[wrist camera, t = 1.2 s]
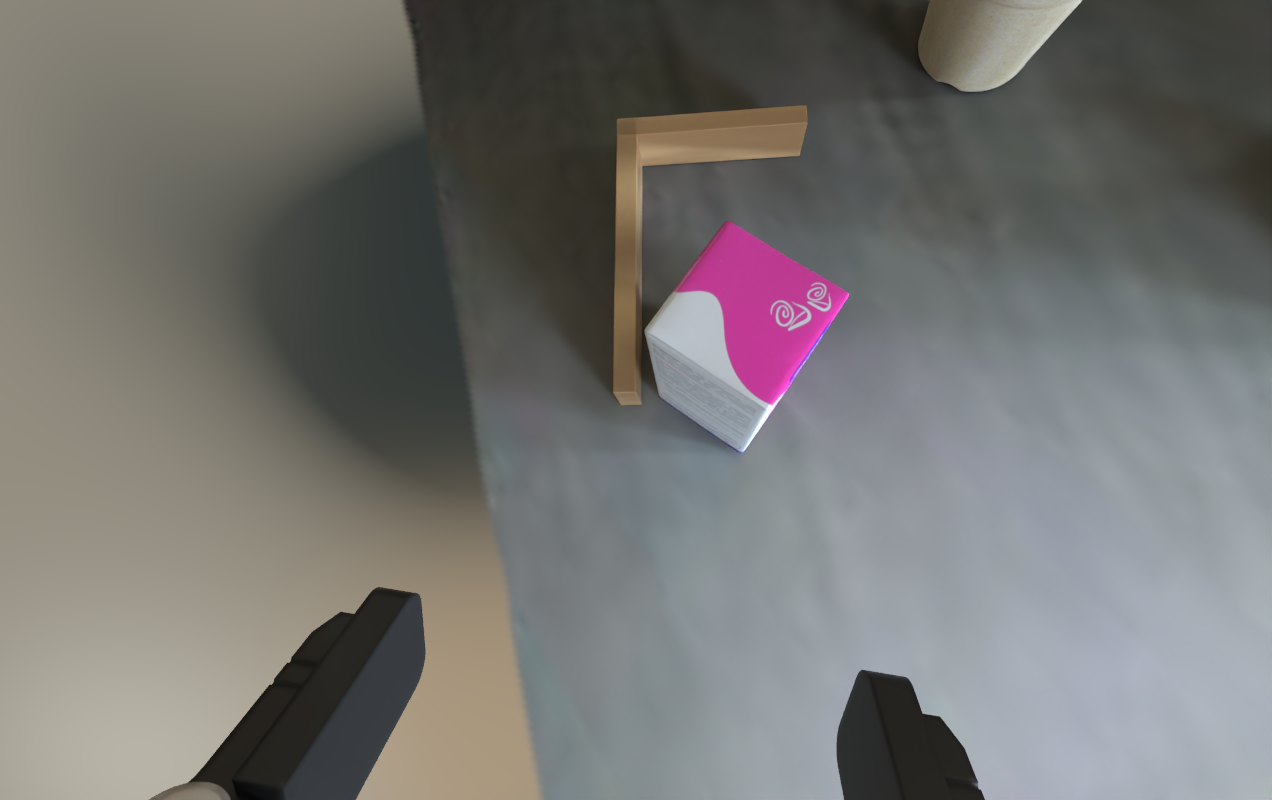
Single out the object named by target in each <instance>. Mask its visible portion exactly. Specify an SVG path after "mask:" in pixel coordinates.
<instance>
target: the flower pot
mask: <svg viewBox="0 0 1272 800" xmlns="http://www.w3.org/2000/svg"><path fill="white" fill-rule="evenodd" d="M1081 1H1082V0H930V2H929V5H928V9H927V13H926V17H925V20H924V24H923V27H922V31H921V34H920V38H919V43H918V53H919V58H920V61H921V63H922V65H923V67H924V69H925V70H926V71H927V73H928V74H929V75H930V76H931V77H932V78H933V79H934V80H936V81H938V82H945V83H948V84H950V85H952V86H954V87H956V88H957V89H958V90H960V91H966V92H979V91H986V90H990V89H993V88H996V87H998V86H1000V85H1002V84H1004V83H1006V82H1008V81H1009V80H1010V79H1012V78H1013V77H1014V76H1015V75H1016V74H1017V73H1018V72H1019V71H1020V70H1021V69H1022V68H1023V66H1024V65H1025V64H1026V62H1027V61H1028V60H1029V59H1030V58H1031V57H1032V56H1033V54H1034V53H1035V52H1036V51H1037V50H1038V49H1039V48H1040V47H1041V46H1042V44H1043V43H1044V42H1045V41H1046V40H1047V39H1048V38H1049V37H1050V35H1051V34H1052V33H1053V32H1054V31H1055V30H1056V29H1057V28H1058V27H1059V25H1060V24H1061V23H1062V22H1063V21H1064V20H1065V19H1066V18H1067V17H1068V16H1069V15H1070V13H1071V12H1072V11H1073V10H1074V9H1075V8H1076V7H1077V6H1078V5H1079V4H1080V2H1081Z"/></svg>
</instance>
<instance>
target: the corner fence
mask: <svg viewBox="0 0 1272 800" xmlns="http://www.w3.org/2000/svg"><path fill="white" fill-rule="evenodd" d="M807 123H808V121H807V106H806V105H798V106H785V107H771V108H758V109H745V110H731V111H718V112H704V113H691V114H678V115H664V116H651V117H637V118H623V119H617V152H616V217H615V282H614V347H613V393H614V395H615V396H616V398H617V400H618V401H619V403H620V404H621V405H641V395H642V166H651V165H667V164H682V163H697V162H713V161H728V160H743V159H759V158H774V157H790V156H799V155H800V152H801V148H802V143H803V139H804V135H805V131H806V127H807Z"/></svg>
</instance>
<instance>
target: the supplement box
mask: <svg viewBox="0 0 1272 800" xmlns="http://www.w3.org/2000/svg"><path fill="white" fill-rule="evenodd" d="M848 296H849V293H848V292H846V291H845V290H843V289H841V288H840V287H838V286H837V285H835V284H833V283H832V282H830V281H828V280H826V279H825V278H823V277H821V276H820V275H818V274H816V273H814V272H812V271H811V270H809V269H807V268H805V267H803V266H802V265H800V264H798V263H797V262H795V261H793V260H792V259H790V258H788V257H787V256H785V255H783V254H782V253H780V252H779V251H777V250H775V249H774V248H772V247H771V246H769V245H767V244H766V243H764V242H762V241H761V240H759V239H758V238H756V237H754V236H753V235H751V234H749V233H748V232H746V231H745V230H743V229H741V228H740V227H738V226H737V225H735V224H733V223H732V222H730V221H726V222H725V223H724V224H723V225H722V227H721V228H720V229H719V230H718V232H717V233H716V234H715V236H714V237H713V238H712V239H711V241H710V242H709V243H708V245H707V246H706V247H705V249H704V250H703V251H702V253H701V254H700V255H699V257H698V258H697V259H696V260H695V262H694V263H693V264H692V266H691V267H690V269H689V270H688V271H687V273H686V274H685V275H684V277H683V278H682V279H681V281H680V282H679V283H678V285H677V286H676V287H675V289H674V290H673V292H672V293H671V294H670V296H669V297H668V298H667V300H666V301H665V302H664V304H663V305H662V306H661V308H660V309H659V311H658V312H657V313H656V315H655V316H654V317H653V319H652V320H651V321H650V323H649V324H648V325H647V327H646V329H645V336H646V340H647V345H648V349H649V353H650V358H651V362H652V366H653V370H654V375H655V380H656V384H657V388H658V393H659V397H660V398H661V399H663V400H664V401H665V402H667V403H668V404H670V405H671V406H673V407H674V408H675V409H677V410H678V411H680V412H681V413H683V414H684V415H685V416H687V417H688V418H690V419H691V420H693V421H694V422H695V423H697V424H698V425H700V426H701V427H703V428H704V429H705V430H707V431H708V432H710V433H711V434H713V435H714V436H716V437H717V438H718V439H720V440H721V441H723V442H724V443H726V444H727V445H728V446H730V447H731V448H733V449H734V450H736V451H737V452H739V453H743V452H744V450H745V449H746V448H747V446H748V445H749V443H750V442H751V440H752V439H753V438H754V436H755V435H756V433H757V432H758V431H759V429H760V428H761V426H762V425H763V423H764V422H765V421H766V419H767V418H768V416H769V415H770V414H771V412H772V411H773V409H774V408H775V406H776V405H777V403H778V402H779V401H780V399H781V398H782V396H783V395H784V393H785V392H786V390H787V389H788V387H789V386H790V384H791V383H792V381H793V380H794V378H795V377H796V375H797V374H798V373H799V371H800V369H801V368H802V366H803V365H804V363H805V362H806V361H807V359H808V358H809V356H810V354H811V353H812V351H813V350H814V349H815V347H816V346H817V344H818V343H819V341H820V339H821V338H822V336H823V335H824V333H825V332H826V330H827V329H828V327H829V326H830V324H831V322H832V321H833V319H834V318H835V316H836V315H837V313H838V312H839V310H840V309H841V307H842V306H843V304H844V303H845V301H846V299H847V298H848Z"/></svg>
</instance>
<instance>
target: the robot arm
mask: <svg viewBox="0 0 1272 800" xmlns="http://www.w3.org/2000/svg"><path fill="white" fill-rule="evenodd" d="M421 605H422V604H421V598H420V596H419V595H418V594H417V593H411V592H405V591H399V590H393V589H387V588H382V587H381V588H380V587H378V588H376V589H374V590H373V591H372V592H371V593H370V594H369V595H368V597H367V598H366V599H365V601H364V602H363V604H362V605H361V606H360V607H359V609H358V610H357V611H356V613H355V614H350V613H344V612H340V613H338V614H337V615H335V616H334V617H333V618H331V619H330V620H328V621H327V622H326V623H324V624H323V625H321V626H320V627H319V628H317V629H316V630H314V631H313V632H312V633H311V634H310V635H309V636H308V638H307V639H306V640H305V641H304V643H303V644H302V645H301V647H300V648H299V649H298V650H297V652H296V653H295V654H294V655H293V656H292V659H291V662H290V663H287V664H286V665H285V666H284V667H283V669H282V670H281V671H280V672H279V674H278V675H277V676H276V678H275V679H274V683H273V684H272V685H269V686H268V688H267V689H266V690H265V691H264V693H263V694H262V695H261V696H260V697H259V698H258V700H257V701H256V702H255V703H254V705H253V706H252V707H251V708H250V710H249V711H248V712H247V713H246V715H245V716H244V717H243V718H242V720H241V721H240V722H239V723H238V725H237V726H236V727H235V728H234V730H233V731H232V732H231V733H230V735H229V736H228V737H227V738H226V739H225V741H224V742H223V743H222V745H221V746H220V747H219V748H218V749H217V751H216V752H215V753H214V754H213V756H212V757H211V758H210V759H209V761H208V762H207V763H206V764H205V766H204V767H203V768H202V769H201V770H200V771H199V772H198V774H197V775H196V776H195V777H194V778H193V779H191V781H189V782H188V783H186V784H182V785H179V786H175V787H173V788H170V789H168V790H166V791H163V792H161V793H160V794H158V795H156V796H154V797H152V798H151V799H150V800H356V798H357V796H358V794H359V792H360V791H361V789H362V787H363V785H364V783H365V781H366V779H367V777H368V776H369V774H370V772H371V770H372V768H373V766H374V764H375V763H376V761H377V759H378V757H379V755H380V753H381V752H382V749H383V748H384V746H385V744H386V742H387V740H388V739H389V737H390V734H391V733H392V731H393V729H394V728H395V726H396V724H397V722H398V720H399V718H400V716H401V715H402V713H403V711H404V709H405V707H406V705H407V703H408V702H409V700H410V698H411V696H412V694H413V692H414V691H415V689H416V686H417V684H418V682H419V680H420V676H421V673H422V670H423V666H424V660H425V641H424V628H423V617H422V606H421ZM837 763H838V769H839V774H840V780H841V785H842V790H843V796H844V800H985V799H984V796H983V794H982V791H981V790H979V789H978V781H977V779H976V776H975V774H974V771H973V769H972V766H971V764H970V761H969V759H968V756H967V754H966V751H965V749H964V747H963V746H962V745H961V743H960V742H959V741H958V739H957V738H956V737H955V736H954V734H953V733H952V732H951V730H950V729H949V728H948V726H947V725H946V724H945V723H944V721H943V720H942V719H941V717H938V716H932V715H927V714H922V711H921V708H920V705H919V703H918V700H917V697H916V694H915V691H914V688H913V686H912V684H911V682H910V681H909V679H908V678H906V677H902V676H896V675H890V674H884V673H878V672H872V671H866V670H861V671H860V672H859V673H858V675H857V677H856V680H855V683H854V686H853V689H852V691H851V694H850V697H849V700H848V702H847V705H846V708H845V711H844V713H843V716H842V719H841V722H840V725H839V729H838V734H837Z"/></svg>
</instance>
